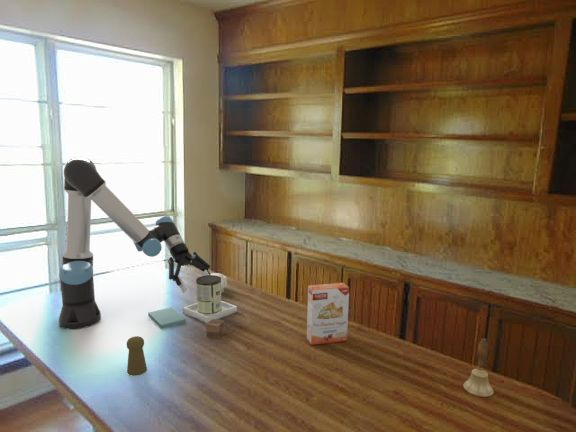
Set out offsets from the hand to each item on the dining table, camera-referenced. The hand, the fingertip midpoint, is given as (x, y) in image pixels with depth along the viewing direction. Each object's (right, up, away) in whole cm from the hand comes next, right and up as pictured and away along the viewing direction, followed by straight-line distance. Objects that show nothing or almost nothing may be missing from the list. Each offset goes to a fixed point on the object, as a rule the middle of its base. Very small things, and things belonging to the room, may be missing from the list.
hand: (198, 287), depth 184 cm
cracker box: (+53, -15, -26) cm, 61 cm away
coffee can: (+5, -10, -2) cm, 11 cm away
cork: (-9, -19, -48) cm, 52 cm away
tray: (+5, -10, -2) cm, 12 cm away
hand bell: (+95, -21, -57) cm, 112 cm away
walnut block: (+11, -14, -23) cm, 29 cm away
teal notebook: (-11, -12, -9) cm, 19 cm away
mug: (+3, -6, +23) cm, 24 cm away
